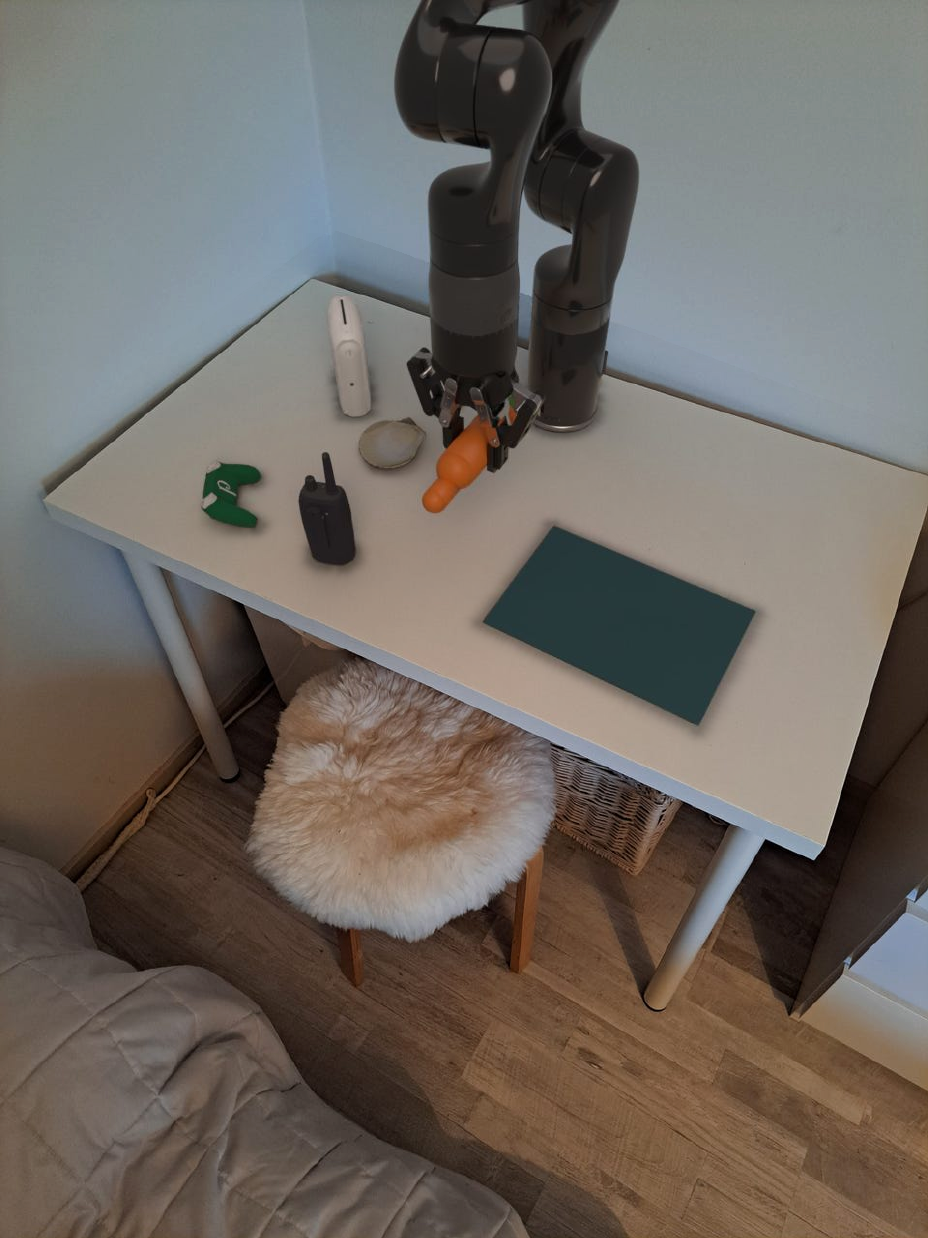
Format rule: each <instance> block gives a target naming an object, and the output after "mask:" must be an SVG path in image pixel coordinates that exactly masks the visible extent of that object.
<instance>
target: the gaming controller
mask: <svg viewBox="0 0 928 1238" xmlns="http://www.w3.org/2000/svg"><path fill="white" fill-rule="evenodd" d="M204 477H205V478H204V482H203V489H202V500H201V510H202V511H203V513H205V514H206V516H209V519H212V520H215V521H216V522H220V523H223V524H226V525H231V526H234V527H240V528H256V525H257V523H258V521H259V518H258V517H257V516H256V515H255V514H253V512H251V511H249V510H247V509H245V508H243V507H242V506H241V507H240V506H238V505H237V501H238V493H239V492H238V491H239V486H242V485H243V486H244V485H253V484H255V483H258V482H260V481H261V478H262V474H261V472H260V470H259V469H258V468H257V467H255V466H252V465H249V464H244V463H243V464H241V463H225V462H220V461H218V459H215V460H213V461H212V462H210V463H209V464H208V466H207V467H206V470H205V475H204Z"/></svg>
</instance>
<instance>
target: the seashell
mask: <svg viewBox="0 0 928 1238" xmlns="http://www.w3.org/2000/svg"><path fill="white" fill-rule="evenodd" d="M426 436H427V433H426V431H425V430H423V428H421V427H420V426H419V425H417V423H416V422H415V421H414V420H413V418H412V417H409V416H407V417H405V418H402V419H401V420H393V419H392V420H388V419H387V420H381V421H377V422H375V423H372V424H371V425H369V426H368V427H366V428H365V430H364V431H363V432H362V434H361V436H360V438H359V441H358V450H359V453H360V456H361V457H362V459H363V460H364V461H365V463H368V465H369V466H373V467H374V468H379V469H385V470H388V469H391V470H394V469H395V468H400V467H402V466H405V465H406V464H407V463H410V462H411V460H413V459H414V457H415V455H416V453H417V451H418V449H419V447H420V445H421V443H422V442H423V441H424V439H425V438H426Z"/></svg>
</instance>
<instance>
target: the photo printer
mask: <svg viewBox="0 0 928 1238" xmlns="http://www.w3.org/2000/svg"><path fill="white" fill-rule="evenodd" d="M326 319H327V329H328V337H329V342H330V348H331V354H332V362H333V366H334V373H335V381H336V387H337V388H336V389H337V395H338V399H339V404H340V408H341V411H342V413H343V414H344V415H347V416H349V417H353V418H357V417H363V416H366V415H367V414H368V413H369V412H371V410H372V391H371V381H370V380H371V379H370V370H369V363H368V355H367V354H368V353H367V347H366V346H367V345H366V339H365V329H364V325H363V320H362V319H363V318H362V315H361V312H360V308H359V306H358V305H357V302H356V301H355V300H354V299H352V297H351V296H349V295H342V296H340V295H339V296H338V295H336V296H334V297H333V298H332V299H331V300H330V302H329V304H328V307H327V309H326Z"/></svg>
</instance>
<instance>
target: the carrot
mask: <svg viewBox="0 0 928 1238" xmlns="http://www.w3.org/2000/svg"><path fill="white" fill-rule="evenodd" d="M508 401H509V405H510V409H509V412H508V415H509V419H510V423H511V425H512V424H513V422H514V420H515V418H516V416H517V414H516V413H514V409H515V407H514V404H515V400H514V398H513V397H512V396H511V395H510V396H509V397H508ZM488 442H489V441H488V438H487V434H486V430H485V427H482V426H481V425H480V421H479V417H478V414H476V415H475V417H474V418H473V419H472V420H471V421H470V422H469V423H468V424H467V426H465V427H464V430H463V431H462V432H461V434H460V435H459V436H458V437H457V438H456V439H455V440H454V441H453V442H452V444H451V445H450V446H449V447H448V448H447V449H446V448H445V450H444V451H443V452H442V453H441V455H440V456H439V457H438V460H436V461H437V462H436V464H435V465H436V466H435V473H436V477H437V478H436V479H435V481H434V482H433V483H432V484H431V485H430V486H429V487H428V488H427V489H426V491H425V492H424V493H423V495H422V497H421V504H422V506H423V508H424V509H425V511H427V512H428V513H431V514H439V513H441V512H443V511H444V510H445V509H446V508H447V507H448V505H450V503H451V502H452V501H453V499H455V497H456V496H457V494H459V493H460V491H461V490H464V489H466V488H468V487H469V486H471V485H472V484H473V483H474V481H476V479H477V478H478V477H479V476H480V474H481V473H482V472H483V471H484V470H485V469H486V468H487V444H488Z"/></svg>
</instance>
